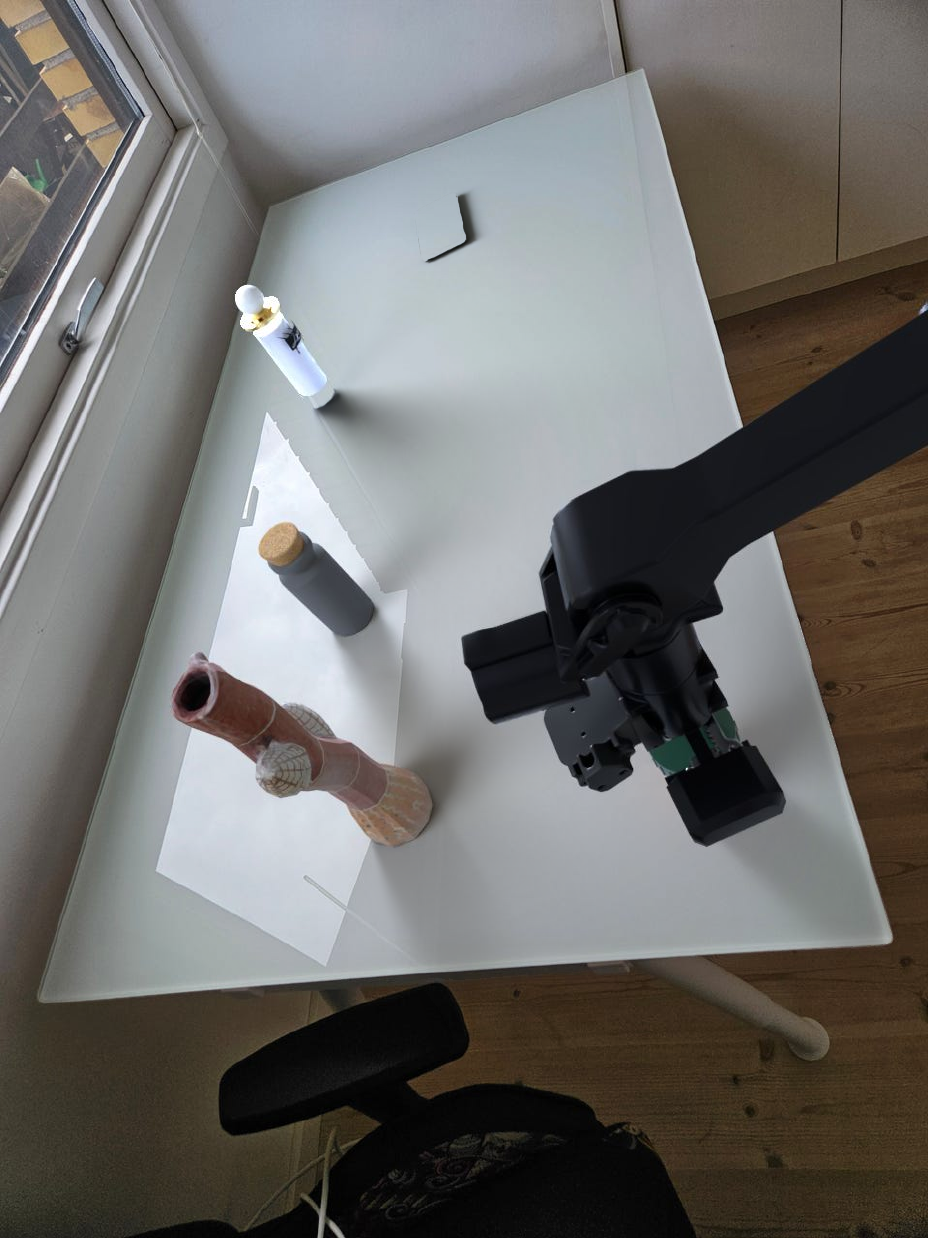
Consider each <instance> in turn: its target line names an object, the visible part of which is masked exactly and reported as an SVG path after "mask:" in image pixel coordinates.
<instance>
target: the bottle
mask: <svg viewBox="0 0 928 1238" xmlns="http://www.w3.org/2000/svg"><path fill="white" fill-rule="evenodd" d="M257 550H258V551H257V552H258V554H259V556H260V557H261V558H262V559H263V560H265V561H266V562H267V565H268V567H269V568H270V569H271V571H272V572H273V573H275V574H276V575H278V579H279V581H280V582H281V585H283V587H284V588H285V589H286V590H287V591H288V592H289V593H290V594H291V595H293V596H294V597H295V598H296V599H297V600H298V601H299V602H300V603H301V604H302V605H303V606H304V607H305V608H306V609H307V610H309V612H310V613H312V615H314V616H315V617H316V618H317V619H318V621H320V622H321V623H322V624H323V625H324V626H326V627H327V629H328V630H330V631H331V632H332V633H333V634H335V635H337V636H338V637H339V636H340V637H350V636H353V635H356V634H357V633H359V632H360V631H362V630H363V629H364V628H365V627H366V626H367V625H368V624H369V621H371V619H372V616H373V612H374V604H373V601H372V599H371V598H370V597H369V595H368V594H367V593H366V592H365V591H364V589H362V587H361V586H360V585H359V584H358V583H357V582H356V581H355V580H354V579H353V578H352V577H351V576H350V575H349V573H348V572H347V571H346V570H345V569H344V568H343V567H342V566H341V565H340V564H339V562H337V560H335V558H334V557H333V556H332V555H331V554H330V553H329V552H328V551H327V550H326V549H325V548H324V547H323V546H322V545H320V544H319V543H317V542H313V541H312V539H311V538H310V536H309V535H308V534H306V533H305V532H304V531H301V530H299V529H298V527H297V525H295V524H294V523H293V522H290V521H283V522H279V523H277V524H275V525H273V526H271V527H269V529H268V530H267V531H265V533H264V534H263V535H262V537H261V539H260V541H259V542H258V547H257Z"/></svg>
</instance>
